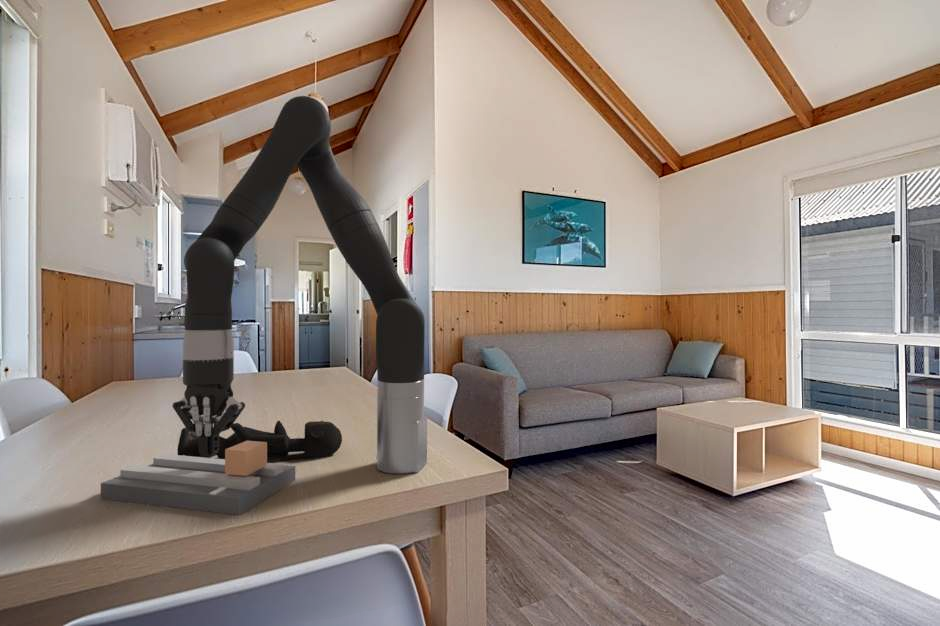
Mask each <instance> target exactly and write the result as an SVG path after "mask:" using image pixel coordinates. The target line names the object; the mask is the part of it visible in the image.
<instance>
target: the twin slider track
mask: <svg viewBox="0 0 940 626" xmlns="http://www.w3.org/2000/svg"><path fill="white" fill-rule="evenodd" d="M119 472H120V474H119V476H115V477H113V478H111V479H108V480H106V481H102V482H101V483H100V499H101V498H102V500H111V501H119V502H127V503H128V502H129V503H136V504H144V505H153V506H162V507H168V508H169V507H170V508H178V509H187V510H193V511H195V510H196V511H201V512H202V511H203V512H211V513H213V512H214V513H221V514H228V515H236V516H237V515H238V516H240V515H242V514H243V513H245V512H246V511H248V510H250V509H251V508H252V507H255V506H256V505H257V504H259V503H261V502H262V501H263V500H265V499H268V498H269V497H270V496H272V495H273V494H276V493H277V492H278V491H280V490H282V489H283V488H285V487H286V486H288V485H289V484H291V483H293V482H294V481H296V465H287V464H282V463H281V464H280V463H271V462H267V466H265V467H263V468H261V469H259V470H257V471H256V475H255V476H242V475H232V474H225V459H218V458H213V457H211V458H203V457H193V456H184V455H183V456H181V455H178V454H168V453H164V454H162V455H158V456H156V457H153V458H152V464H149V465H140V464H139V465H138V464H133V465H130V466H128V467H125V468H122V469H120V471H119Z"/></svg>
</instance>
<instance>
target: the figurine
mask: <svg viewBox="0 0 940 626" xmlns="http://www.w3.org/2000/svg"><path fill="white" fill-rule="evenodd" d="M230 429H231V430H232V431H233V433H231V435H229V436H228V437H227V438H225V437H223V436H220V435H219V451H218V452H217V454H216V455H215V456H217V459H225V449H227V448H230V447H232V446H235V445H237V444H240V443H242V442H245V441H259V442H267V457H281V461H295V460H311V459H321V457H323V458H328V457H330V456H332V455H334V454H335V453H336V452H337V451H338V450H339V449H340V448H341V445H342V443H343V436H342V433H341V430H340V429H339V428H338V427H337V426H336V425H335V424H334V423H332V422H331V421H324V420H320V421H313V420H311V421H308V422H305V424H304V437H303V438H302V437H299V438H298V437H297V438H290V436H288V433H287V431H286V429H285V427H284V425H283V423H282V422H281V421H280V420H277V421H276V423H275V424H274V428H273V432H269V431H263V430H259V429H256V428H251V427H249V426H243V425H242V424H241V423H239V422H234V423H233V424H232V426H231V427H230ZM289 453H294V454H289ZM177 455H181V456H193V457H201V456H200V453H199V437H195V438H192V439H191V433H190V432H189V431H188V430H187V428H186V427H183V428H181V430H180V435H179V439H178V444H177ZM327 456H328V457H327Z"/></svg>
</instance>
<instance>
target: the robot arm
mask: <svg viewBox="0 0 940 626" xmlns="http://www.w3.org/2000/svg"><path fill="white" fill-rule="evenodd" d="M326 108H327V107H326V106H325V105H323V103H322V102H320V101H319V100H317V99H316V98H314V97H312V96H307V95H297V96H295V97H292V98H290V99H289V100H288V101H286V102H285V103H284V105H283V106H282V107H281V110H280V112H279V114H278V116H277V119H276V120H275V123H274V125H273V127H272V130H271V131H270V133H269V135H268V136H267V139H266V141H265V142H264V144H263V145H262V147H261V149H260V150H259V153H258V154H257V156H256V157H255V159H254V160H253V162H252V163H251V165H250V166H249V168H248V169H247V170H246V172H245V173H244V175H243V176H242V177H241V179H240V180H239V181H238V182H237V184H236V185H235V187H234V188H233V189H232V190H231V192H230V193H229V194H228V195H227V197H226V198H225V199H224V201H223V202H222V203H221V205H220V206H219V207H218V209H217V211H216V213H215V214H214V216H213V219H212V220H211V222H210V223H209V224H208V225H207V226H206V227H205V229H204V230H203V231H202V233H201V234H200V235H199V236H198V238H197V239H196V240H195V241H194V242H193V243H192V244H191V245H190V246H189V247H188V249H187V250H186V252H185V254H184V257H183V265H184V268H185V270H186V289H187V290H186V292H187V294H186V295H187V297H186V301H185V306H184V335H183V340H182V341H183V342H182V383H183V385H184V386H186V387H185V391H184V396H183V397H182V399H180V400H178V401H176V402H175V401H174V402H173V403H172V408H173V410H174V412H175V413H176V414H177V416H178V418H179V419H180V420H181V422H182V424H183V426H185V427H184V428H187V430H188V431H189V432H192V431H193V432H195V433H196V434H197V436H199V453H200V456H201V457H203V458H213V457H215V456H217V455H216V454H217V452H218V451H219V436H220V434H221V433H223V432H225V431H228V430H230V429H231V426H232V424H234V423H236V420H237V419H238V417H239V416H240V415H241V413H242V412H243V411H244V409H245V408H246V403H245V402H244V401H241V402H238V400H237V399H235V398H234V391H233V389H232V384H233V383H232V382H233V381H234V377H235V375H234V372H235V371H234V367H235V366H234V362H235V361H234V359H235V357H234V349H235V348H234V347H235V345H234V335H233V330H232V329H233V309H232V295H233V289H234V288H233V287H234V279H235V261H236V259H237V258H238V256H239V254H240V253H241V252H242V250H243V248H244V247H245V245H247V243H248V242H250V240H252V239H253V237H254V236H255V235H256V234H257V232H258V231H259V230H260V229H261V227H262V226H263V225H264V223H265V222H266V221H267V219H268V217H269V216H270V214H271V213H272V211H273V209H275V206H276V204H277V203H278V201H279V198H280V197H281V194H282V192H283V190H284V188H285V186H286V184H287V182H288V180H289V178H290V176H291V174H292V173H293V172H294V169H295V168H296V167H297V170H298V171H299V172H300V173H301V175H302V177H303V178H304V180H305V182H306V183H307V186H308V187H309V188H310V192H311V193H312V196H313V198H314V201H315V204H316V205H317V208H318V210H319V213H320V214H321V216H322V219H323V220H324V221H323V222H324V223H325V226H326V227H327V230H328V232H329V234H330V236H331V237H332V239H333V241H334V243H335V245H336V247H337V249H338V250H339V252H340V253H341V256H342V257H343V258H344V260H345V261H346V264H347V265H348V266H349V267H350V269H351V270H352V271H353V273H354V274H355V275H356V276H357V278H358V279H359V281H360V282H361V284H362V285H363V286H364V288H365V290H366V292H367V295H368V296H369V298H370V300H371V303H372V306H373V308H374V310H375V313H376V315H377V317H376V319H375V320H376V321H375V322H376V323H375V366H376V371H377V374H376V375H377V379H376V380H377V388H376V389H377V391H376V392H377V395H376V396H377V398H376V399H377V400H376V402H377V403H376V405H377V406H376V407H377V408H376V468H377V470H378V471H381V472H383V473H386V474H408V473H418V472H419V471H420V470H421V469H422V468H423V467H424V466H425V465H426V462H428V457H427V456H428V416H427V415H426V414H425V337H426V336H425V330H426V329H425V325H426V324H425V321H426V320H425V319H426V318H425V315H424V312H423V311H422V309H421V308H420V306H419V305H418V304H417V302H416V301H415V300H414V298H413V297H412V295H411V294H410V293H409V290H408V288H407V287H406V286H405V284H404V282H403V281H402V278H401V276H400V275H399V273H398V271H397V268H396V266H395V263H394V259H393V257H392V255H391V252H390V249H389V246H388V244H387V241H386V239H385V236H384V234H383V232H382V229H381V227H380V225H379V223H378V222H377V220H376V218H375V215H374V213H373V211H372V210H371V207H370V206H369V205H368V203H367V201H366V200H365V199H364V197H363V196H362V195H361V194H360V192H358V191H357V190H356V188H355V187H353V185H351V183H350V182H349V181H348V180H347V179H346V177H345V176H344V174H343V172H342V171H341V169H340V167H339V164H338V162H337V161H336V158H335V156H334V153H333V151H332V147H331V144H330V139H331V138H330V137H331V131H332V129H331V128H332V123H331V118H330V113H329V112H328V110H327V109H326Z"/></svg>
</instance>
